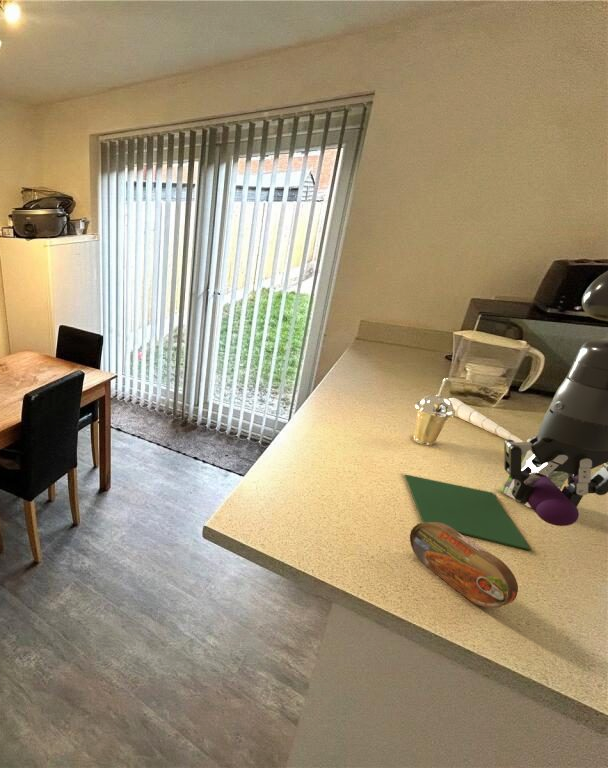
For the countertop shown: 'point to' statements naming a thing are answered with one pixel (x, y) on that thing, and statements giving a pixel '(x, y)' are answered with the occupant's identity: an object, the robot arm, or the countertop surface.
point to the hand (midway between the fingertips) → (539, 504)
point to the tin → (464, 565)
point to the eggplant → (552, 503)
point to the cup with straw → (433, 415)
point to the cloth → (465, 511)
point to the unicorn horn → (480, 420)
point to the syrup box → (554, 476)
